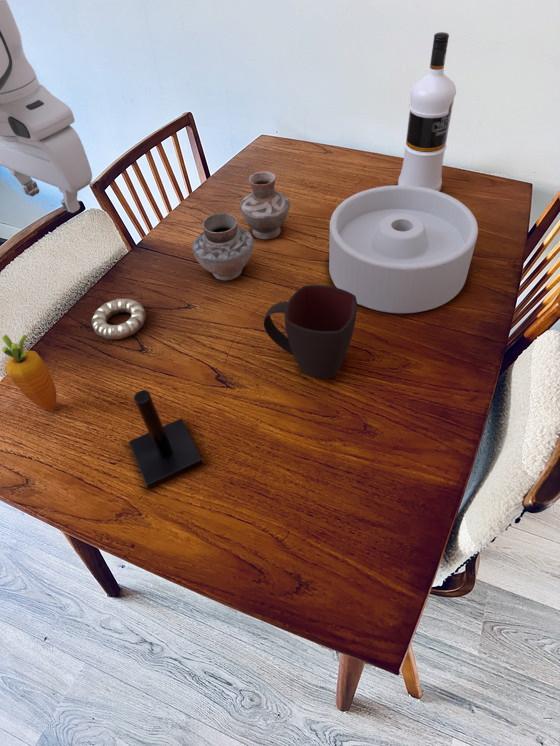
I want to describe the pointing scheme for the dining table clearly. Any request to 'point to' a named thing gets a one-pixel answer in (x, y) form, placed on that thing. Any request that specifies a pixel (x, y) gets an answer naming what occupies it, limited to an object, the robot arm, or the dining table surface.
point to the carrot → (30, 374)
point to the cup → (316, 328)
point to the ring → (122, 329)
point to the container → (401, 247)
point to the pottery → (241, 229)
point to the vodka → (429, 122)
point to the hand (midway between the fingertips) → (52, 201)
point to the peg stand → (162, 445)
